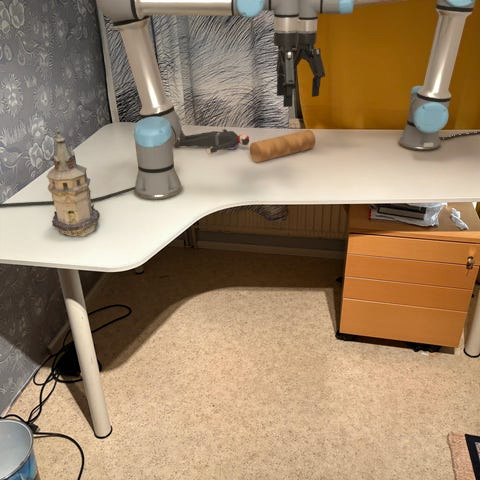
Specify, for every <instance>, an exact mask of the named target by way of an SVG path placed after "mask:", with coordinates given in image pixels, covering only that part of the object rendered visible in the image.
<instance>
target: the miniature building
mask: <svg viewBox="0 0 480 480" xmlns="http://www.w3.org/2000/svg"><path fill="white" fill-rule="evenodd" d="M56 134H57V136H56V138H55V140H54V141H55V142H56V147H55V154H54V156H52V157H51V161H52V162H53V165H54V167H53V168H51V169H50V170H49V171H48V173H47V174H46V178H47V179H48V182H49V184H48V186H47V190H48V191H49V193H50V194H51V201H54V204H53V205H54V209H55V211H53V217H52V220H51V223H52V225H51V227H54V228H56V229H58V230H59V231H60V234H63V235H64V234H65V235H66V236H69V237H77V236H80V237H83V236H87V235H88V234H90V233H93V232H94V231H95V229H96V226H97V225H98V223H99V220H100V216H101V213H100V212H99V210H98V209H96V208H95V204H92V202H91V199H92V197H91V192H92V191H91V188H90V184H91V178H89V177H88V174H87V167H85V166H84V165H83V166H82V165H80V164H77V160H76V154H75V151H74V150H70V149H69V147H68V145H67V143H66V138H65V137H64V136H63V135H61V130H60V129H56Z"/></svg>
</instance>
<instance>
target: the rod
mask: <svg viewBox="0 0 480 480" xmlns="http://www.w3.org/2000/svg"><path fill="white" fill-rule="evenodd" d="M316 142H317V141H316V136H315V134H314V132H313V130H311V129H305V130H300V131H297V132H292V133H288V134H283V135H280V136H275V137H271V138H267V139H262V140H257V141H254V142H251V143H250V145H249V156H250V158H251V160H252V161H253V162H254V163H261V162H264V161H265V162H266V161H268V160H272V159H276V158H280V157H284V156H287V155H291V154H296V153H298V152H299V153H300V152H304V151H307V150H308V151H309V150H311V149H314V148H315V146H316Z"/></svg>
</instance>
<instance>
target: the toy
mask: <svg viewBox="0 0 480 480" xmlns="http://www.w3.org/2000/svg"><path fill="white" fill-rule="evenodd" d="M249 143H250V136H249V135H247V134H239V135H238V134H237V133H236V132H234V131H233V130H227V129H226V128H222V129H221V131H217V130H216V131H215V130H213V131H206V132H201V133H195V134H189V135H185V133H184V132H183V129H181V134H180V136H179V138H178V140H177V141H176V143H175V145H174V146H173V148H174V149H177V148H180V147H187V148H189V147H200V148H201V147H209V148H207V149H206V153H207V154H214V153H217V152H218V151H222V150H226V149H227V150H234V149H237V147H238V146H239V144H240V145H242V146H247V145H248V144H249Z"/></svg>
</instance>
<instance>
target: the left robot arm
mask: <svg viewBox="0 0 480 480" xmlns="http://www.w3.org/2000/svg"><path fill="white" fill-rule="evenodd" d="M95 3H96V5H97V7H98V9H99V11H100V12H101V14H103V15H104V17H106V18H108V19H110V20H111V22H112V23H111V24H112V26H113V29H116V30H117V31H119V33H120V36H121V40H122V44H123V46H124V50H125V53H126V57H127V59H128V63H129V66H130V71H131V73H132V76H133V79H134V82H135V86H136V90H137V93H138V97H139V100H140V103H141V109H140V111H139V116H140V118H141V119H139V120H138V121H136V123H135V124H134V127H133V138H134V144H135V154H136V161H137V175H136V179H135V184H134V186H132V187H128V188H126V189H123V190H119V191H117V192H116V191H115V192H113V193H108V194H105V195H102V196H99V197H94V198H91V203H93V202H98V201H102V200H105V199H109V198H113V197H116V196H119V195H122V194H125V193H128V192H129V193H130V192H132V191H133V192H134V193H135V195H136V196H137V197H138V198H141V199H143V200H148V201H161V200H168V199H171V198H174V197H176V196H178V195H179V194H180V193H181V192H182V182H181V180H180V177H179V176H178V173H177V171H176V169H175V161H174V160H175V159H174V158H175V157H174V145H175V143H176V141H177V140H178V139H179V136H180V134H181V130H183V126H182V125H183V124H182V120H181V118H180V115H179V114H178V113H177V112H176V109H175V106H174V104H173V102H172V101H170V100H168V97H167V93H166V90H165V85H164V82H163V79H162V75H161V72H160V68H159V65H158V60H157V56H156V53H155V49H154V46H153V42H152V38H151V35H150V32H149V28H148V27H149V26H148V23H149V22H150V20H151V16H183V17H184V16H185V17H186V16H188V17H189V16H191V17H195V16H196V17H197V16H199V17H202V16H203V17H204V16H206V17H207V16H208V17H213V16H214V17H215V16H216V17H220V16H221V17H244V18H247V19H252V18H256V17H258V16H259V15H261V13H262V12H263V11H264V12H265V11H270V12H272V11H273V30H274V33H273V45H274V46H276V47H277V58H276V67H275V68H276V69H275V72H276V75H277V76H276V96H277V97H283V101H282V103H283V108H291V107H293V100H294V99H293V93H294V89H293V85H294V84H295V82H294V71H295V70H294V63H293V54H294V53H293V51H291V47H292V46H296V45H297V44H298V32H297V30H298V25H299V24H298V23H300V21H301V20H300V19H299V4H300V0H95ZM42 205H44V206H45V205H54V201H53V200H45V201H25V202H23V201H22V202H8V203H7V202H6V203H0V208H4V207H22V206H42Z"/></svg>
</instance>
